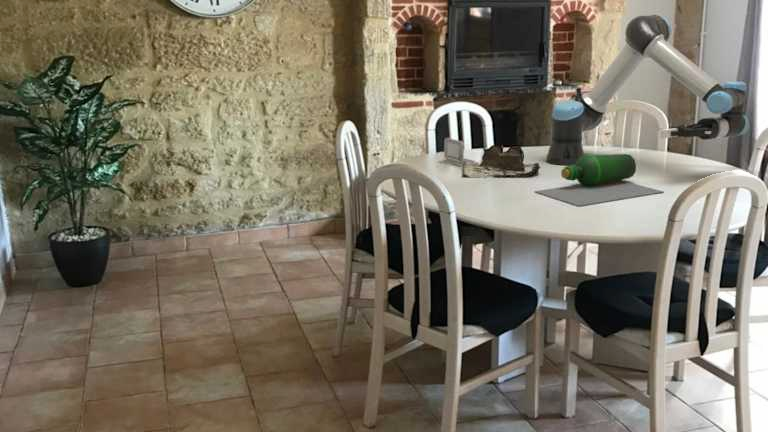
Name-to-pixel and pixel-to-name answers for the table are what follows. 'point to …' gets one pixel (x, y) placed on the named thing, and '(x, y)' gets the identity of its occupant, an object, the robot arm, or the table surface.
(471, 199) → the table surface
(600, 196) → the mat
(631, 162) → the bottle
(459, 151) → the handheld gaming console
